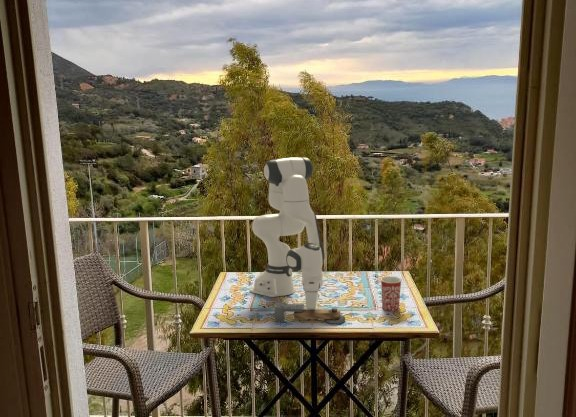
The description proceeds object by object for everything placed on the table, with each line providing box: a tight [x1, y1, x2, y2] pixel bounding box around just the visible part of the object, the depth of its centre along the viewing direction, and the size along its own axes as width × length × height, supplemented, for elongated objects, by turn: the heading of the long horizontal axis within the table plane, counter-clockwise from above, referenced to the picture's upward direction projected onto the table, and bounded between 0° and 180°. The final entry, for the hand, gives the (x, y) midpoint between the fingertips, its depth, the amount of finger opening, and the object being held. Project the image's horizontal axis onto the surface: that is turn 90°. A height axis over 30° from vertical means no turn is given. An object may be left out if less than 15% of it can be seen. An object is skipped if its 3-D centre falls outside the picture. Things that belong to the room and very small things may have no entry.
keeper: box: [273, 301, 305, 323], centre depth 225 cm, size 12×7×6 cm, turn 84°
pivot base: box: [323, 314, 346, 325], centre depth 224 cm, size 9×9×1 cm
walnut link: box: [293, 307, 341, 320], centre depth 224 cm, size 20×5×4 cm, turn 86°
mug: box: [380, 276, 403, 312], centre depth 236 cm, size 13×9×14 cm
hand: (312, 311), depth 230 cm, fingers closed
